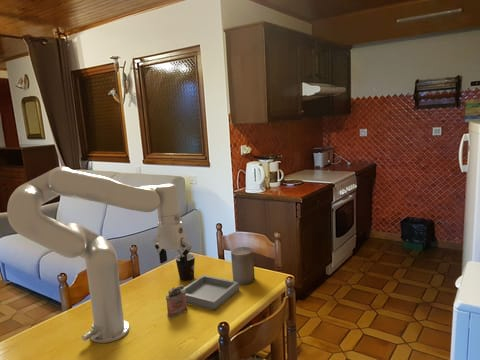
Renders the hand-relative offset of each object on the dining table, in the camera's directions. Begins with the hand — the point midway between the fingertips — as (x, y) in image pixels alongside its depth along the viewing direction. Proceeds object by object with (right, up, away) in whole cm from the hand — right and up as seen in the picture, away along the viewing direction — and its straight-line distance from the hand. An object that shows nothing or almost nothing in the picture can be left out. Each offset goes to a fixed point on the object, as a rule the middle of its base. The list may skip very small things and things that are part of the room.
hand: (173, 264), depth 132 cm
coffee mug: (-1, -14, +32) cm, 35 cm away
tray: (+11, -16, +15) cm, 25 cm away
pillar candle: (+26, -14, +27) cm, 40 cm away
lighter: (+1, -19, +3) cm, 19 cm away
